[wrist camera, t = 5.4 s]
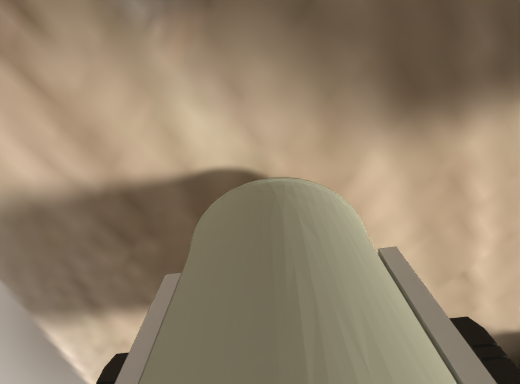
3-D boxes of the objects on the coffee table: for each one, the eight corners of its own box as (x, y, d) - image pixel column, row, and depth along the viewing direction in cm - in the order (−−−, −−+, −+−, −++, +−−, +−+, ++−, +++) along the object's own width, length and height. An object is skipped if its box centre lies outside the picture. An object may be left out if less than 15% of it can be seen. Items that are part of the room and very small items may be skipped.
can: (247, 343, 18) (222, 790, 7) (154, 228, 15) (-171, 722, 4) (392, 285, 16) (680, 773, 5) (323, 140, 13) (692, 600, 2)
